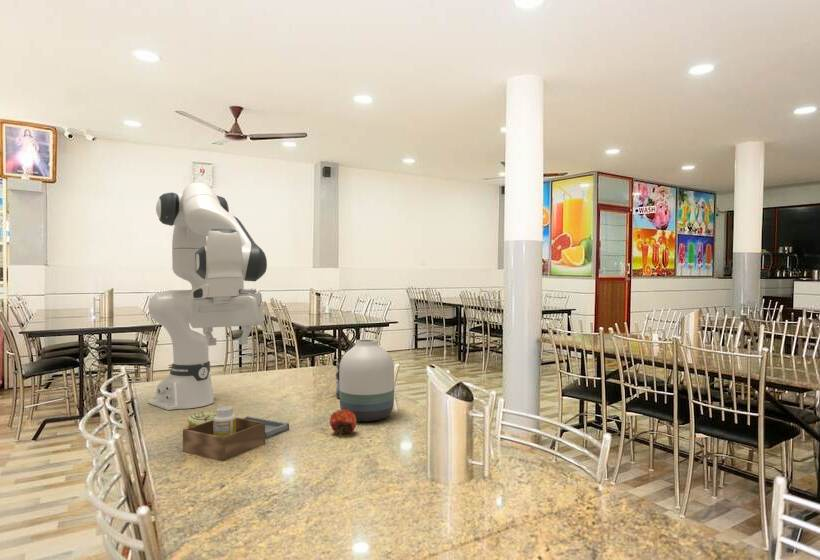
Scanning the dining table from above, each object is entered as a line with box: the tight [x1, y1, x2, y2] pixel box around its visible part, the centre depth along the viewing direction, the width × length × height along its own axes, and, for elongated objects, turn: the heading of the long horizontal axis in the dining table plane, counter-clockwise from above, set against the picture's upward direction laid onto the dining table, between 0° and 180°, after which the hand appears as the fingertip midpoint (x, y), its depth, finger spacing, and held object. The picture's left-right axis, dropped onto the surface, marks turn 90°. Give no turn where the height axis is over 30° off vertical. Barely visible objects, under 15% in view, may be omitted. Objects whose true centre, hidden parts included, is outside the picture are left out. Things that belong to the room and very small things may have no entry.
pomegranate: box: [329, 408, 357, 440], centre depth 144 cm, size 7×7×10 cm
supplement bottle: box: [213, 405, 237, 437], centre depth 134 cm, size 6×6×10 cm
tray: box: [242, 416, 290, 440], centre depth 148 cm, size 16×10×2 cm, turn 62°
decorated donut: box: [187, 410, 216, 428], centre depth 152 cm, size 10×11×4 cm
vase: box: [339, 338, 395, 422], centre depth 161 cm, size 17×17×24 cm
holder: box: [182, 417, 266, 462], centre depth 134 cm, size 14×14×6 cm
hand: (227, 344), depth 131 cm, fingers open, 8 cm apart
